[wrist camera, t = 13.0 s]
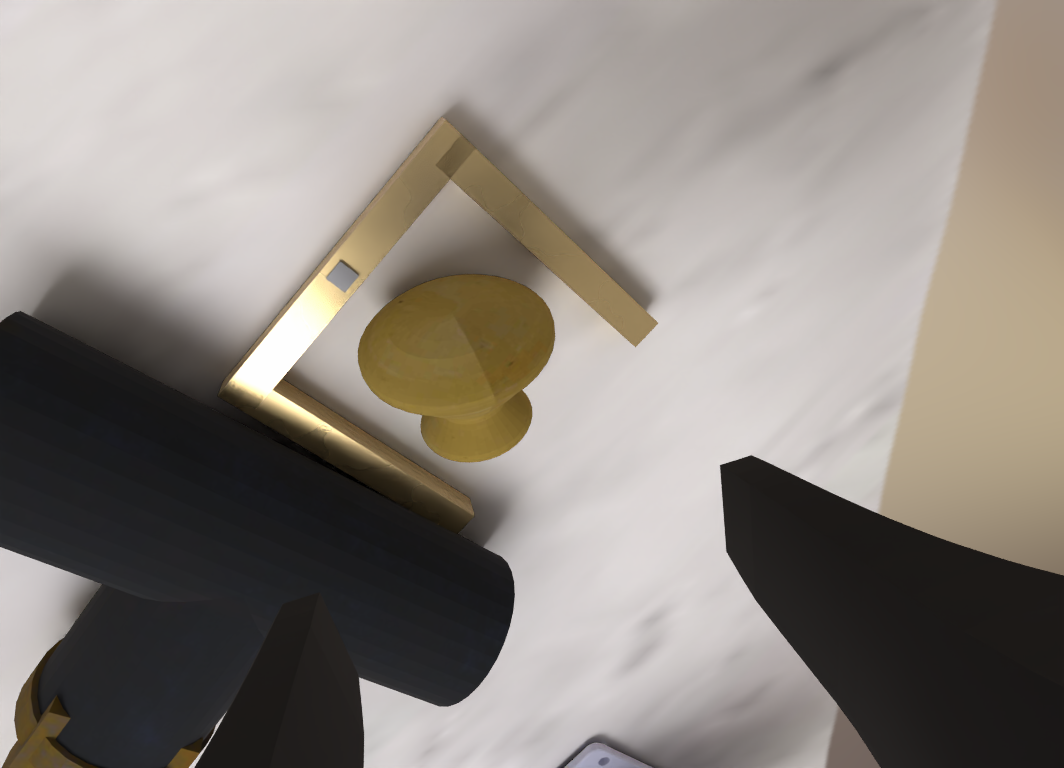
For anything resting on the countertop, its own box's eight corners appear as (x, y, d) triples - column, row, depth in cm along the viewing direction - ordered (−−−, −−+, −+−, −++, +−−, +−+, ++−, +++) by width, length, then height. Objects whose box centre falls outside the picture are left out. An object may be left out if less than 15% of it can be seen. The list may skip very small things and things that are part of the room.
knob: (344, 291, 19) (342, 360, 14) (520, 246, 19) (569, 298, 15) (392, 431, 21) (403, 528, 17) (549, 386, 22) (599, 467, 17)
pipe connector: (307, 883, 21) (-300, 764, 15) (314, 738, 26) (-146, 598, 19) (532, 631, 19) (-56, 361, 13) (495, 523, 24) (51, 285, 17)
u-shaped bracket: (645, 312, 21) (659, 324, 20) (450, 518, 23) (455, 538, 22) (441, 116, 17) (446, 119, 16) (223, 380, 19) (216, 397, 18)
